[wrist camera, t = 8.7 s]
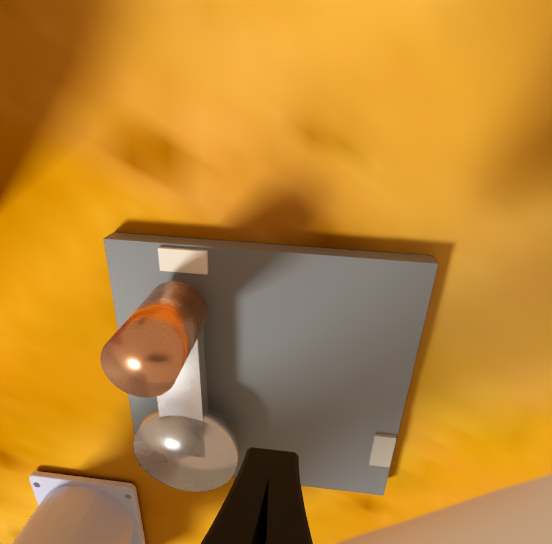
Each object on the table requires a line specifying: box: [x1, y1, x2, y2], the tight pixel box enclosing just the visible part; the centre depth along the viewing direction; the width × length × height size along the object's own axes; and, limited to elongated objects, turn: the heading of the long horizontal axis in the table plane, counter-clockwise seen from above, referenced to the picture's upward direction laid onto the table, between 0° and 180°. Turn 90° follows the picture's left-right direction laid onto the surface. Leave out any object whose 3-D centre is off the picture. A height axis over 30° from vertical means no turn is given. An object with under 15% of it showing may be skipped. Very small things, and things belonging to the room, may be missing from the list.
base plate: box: [104, 232, 438, 495], centre depth 21 cm, size 16×16×2 cm
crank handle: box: [101, 281, 240, 492], centre depth 19 cm, size 6×14×4 cm, turn 178°
